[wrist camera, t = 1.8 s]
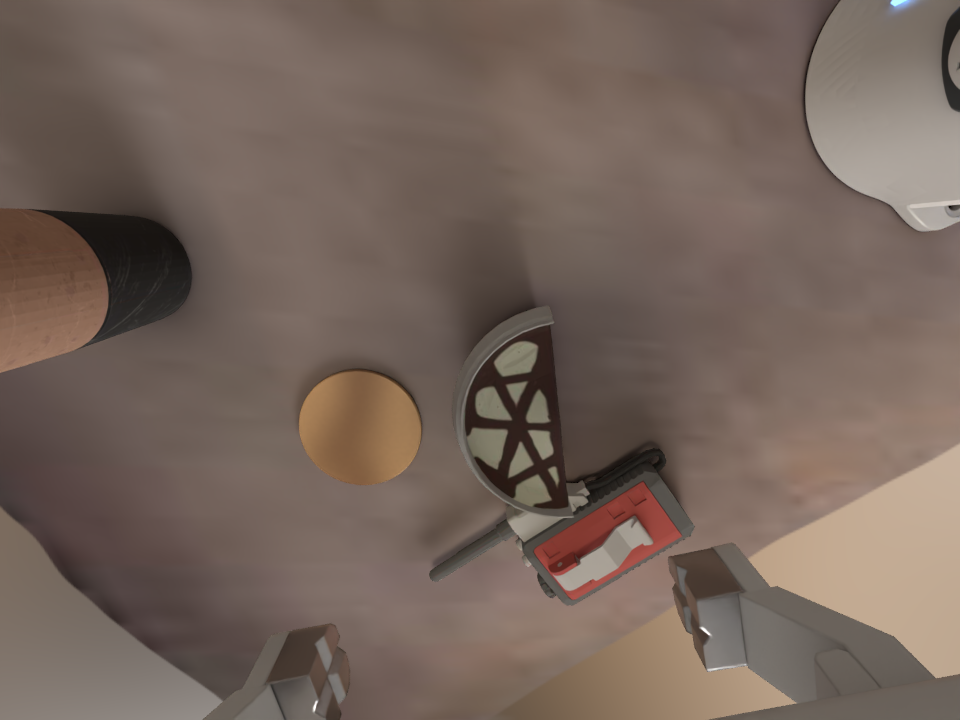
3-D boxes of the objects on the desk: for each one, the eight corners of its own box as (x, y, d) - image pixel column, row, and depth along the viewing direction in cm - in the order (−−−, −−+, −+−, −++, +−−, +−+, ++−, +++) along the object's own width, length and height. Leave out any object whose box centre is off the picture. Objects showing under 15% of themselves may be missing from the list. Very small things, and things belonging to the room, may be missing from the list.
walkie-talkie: (639, 418, 38) (424, 557, 42) (658, 443, 34) (417, 595, 37) (699, 505, 40) (488, 631, 43) (724, 539, 36) (489, 676, 39)
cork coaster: (401, 355, 37) (400, 357, 37) (436, 466, 40) (436, 469, 39) (283, 386, 38) (280, 388, 38) (324, 494, 40) (322, 497, 40)
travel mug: (217, 262, 36) (-98, 311, 16) (159, 345, 37) (-191, 480, 18) (119, 187, 35) (-346, 144, 15) (64, 276, 36) (-423, 340, 17)
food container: (446, 299, 36) (432, 327, 27) (534, 287, 36) (553, 311, 26) (471, 460, 39) (466, 538, 30) (552, 450, 39) (574, 526, 29)
